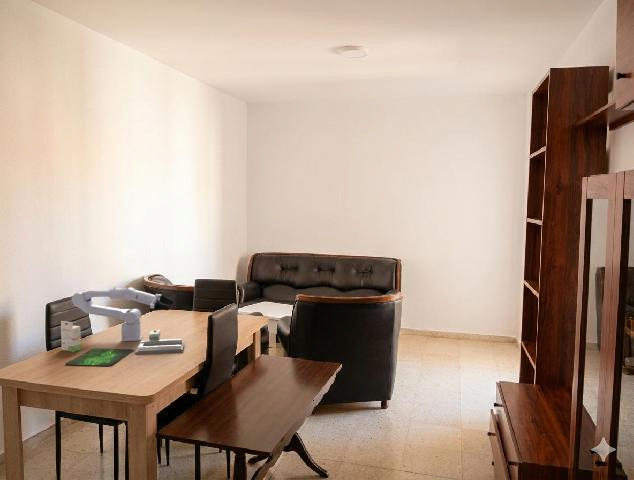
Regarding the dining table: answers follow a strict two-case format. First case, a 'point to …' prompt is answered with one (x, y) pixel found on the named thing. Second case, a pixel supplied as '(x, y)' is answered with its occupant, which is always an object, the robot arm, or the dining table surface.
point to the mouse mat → (100, 357)
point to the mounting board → (160, 350)
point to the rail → (158, 342)
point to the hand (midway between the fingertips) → (171, 305)
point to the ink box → (70, 336)
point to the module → (154, 335)
